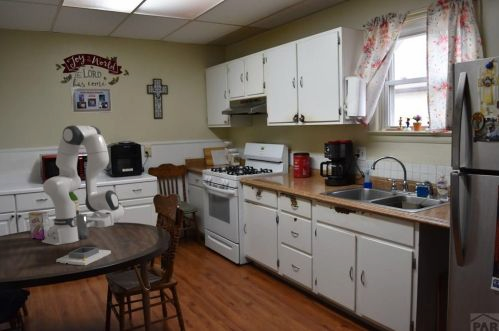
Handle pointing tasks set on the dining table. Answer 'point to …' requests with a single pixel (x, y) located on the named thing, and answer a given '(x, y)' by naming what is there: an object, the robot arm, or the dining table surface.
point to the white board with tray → (83, 256)
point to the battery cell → (82, 226)
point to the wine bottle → (75, 201)
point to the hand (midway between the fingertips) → (81, 225)
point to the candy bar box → (38, 224)
